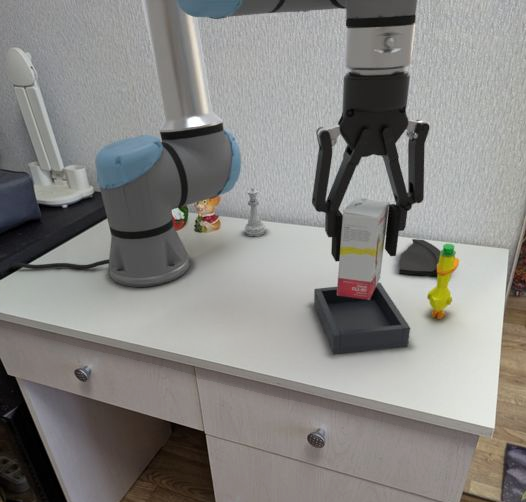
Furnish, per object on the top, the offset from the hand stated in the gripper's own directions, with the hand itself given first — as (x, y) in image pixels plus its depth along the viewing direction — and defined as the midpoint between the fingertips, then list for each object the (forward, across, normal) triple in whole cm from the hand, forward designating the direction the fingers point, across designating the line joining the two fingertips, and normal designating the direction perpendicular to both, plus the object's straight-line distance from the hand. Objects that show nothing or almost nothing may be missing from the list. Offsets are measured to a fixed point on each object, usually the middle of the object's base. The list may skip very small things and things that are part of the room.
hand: (363, 254), depth 70 cm
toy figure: (+12, +13, +1) cm, 18 cm away
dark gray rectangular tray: (+12, 0, 0) cm, 12 cm away
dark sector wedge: (+12, +18, +19) cm, 29 cm away
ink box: (+5, 0, -1) cm, 5 cm away
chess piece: (+12, -12, +41) cm, 44 cm away
